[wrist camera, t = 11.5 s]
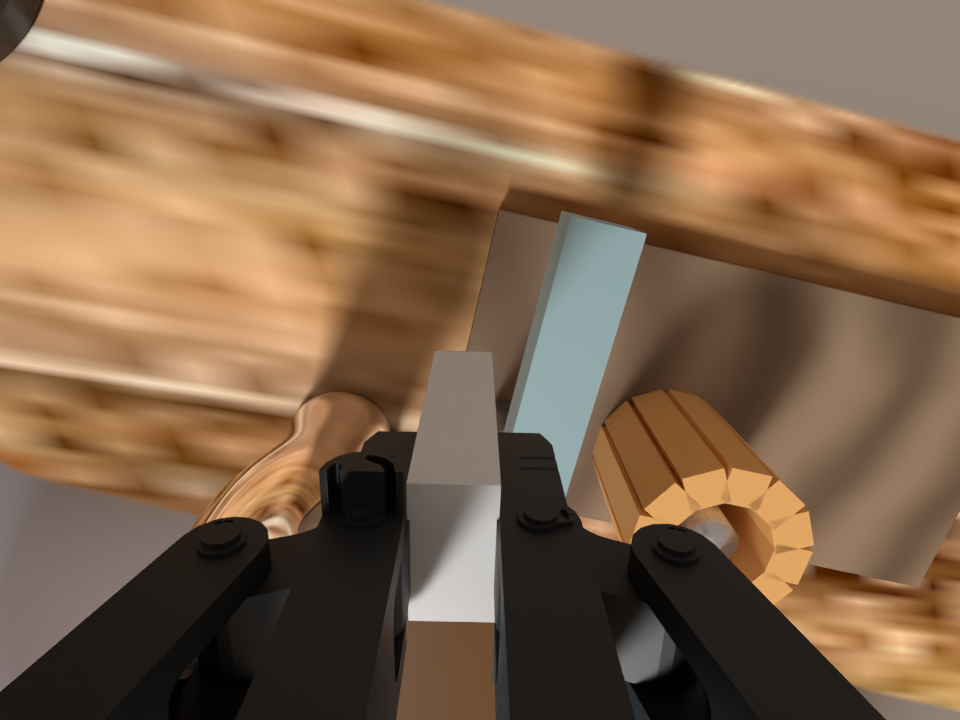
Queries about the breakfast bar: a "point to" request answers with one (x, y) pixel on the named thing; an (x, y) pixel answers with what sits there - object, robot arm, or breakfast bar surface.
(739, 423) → the plate
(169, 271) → the breakfast bar surface
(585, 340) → the bar
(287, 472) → the beer glass
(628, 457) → the collar
